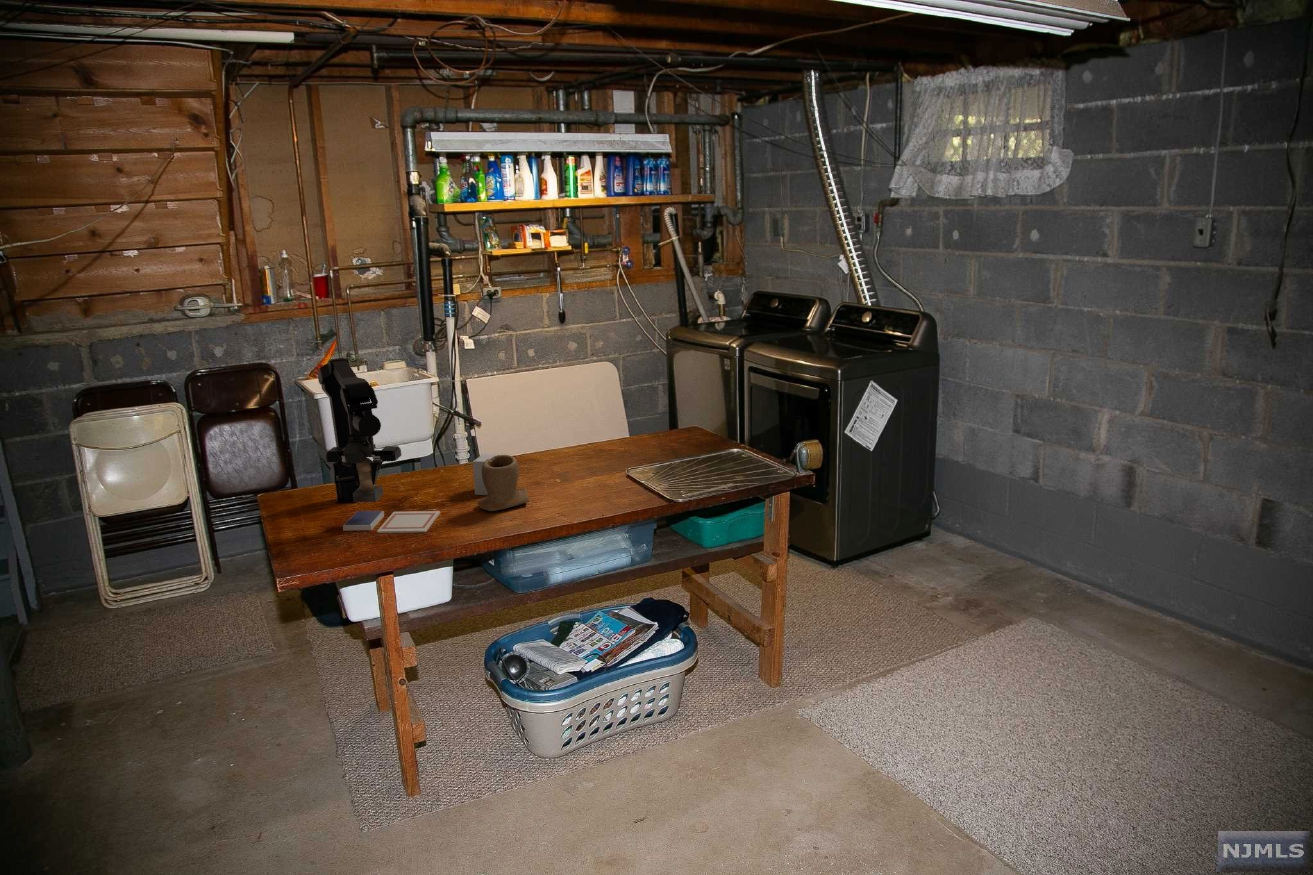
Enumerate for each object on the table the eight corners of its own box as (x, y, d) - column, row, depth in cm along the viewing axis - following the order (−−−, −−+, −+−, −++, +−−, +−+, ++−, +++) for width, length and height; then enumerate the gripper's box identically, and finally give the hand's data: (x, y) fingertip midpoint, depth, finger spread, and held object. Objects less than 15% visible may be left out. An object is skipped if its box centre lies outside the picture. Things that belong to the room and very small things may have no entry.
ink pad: (343, 530, 243) (342, 524, 243) (357, 516, 254) (356, 510, 253) (371, 530, 243) (370, 524, 242) (384, 515, 253) (383, 510, 253)
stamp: (353, 502, 243) (348, 461, 240) (361, 494, 249) (356, 454, 246) (375, 501, 243) (371, 460, 240) (383, 494, 249) (378, 454, 246)
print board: (377, 532, 241) (376, 530, 241) (394, 513, 255) (393, 511, 255) (425, 532, 241) (425, 530, 240) (440, 512, 255) (439, 510, 255)
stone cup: (490, 518, 250) (486, 466, 246) (473, 506, 260) (469, 456, 256) (539, 506, 258) (536, 456, 254) (522, 495, 268) (518, 447, 264)
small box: (492, 495, 268) (489, 461, 265) (474, 495, 269) (471, 461, 267) (502, 487, 276) (499, 454, 273) (484, 486, 277) (482, 453, 274)
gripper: (314, 437, 234) (321, 494, 238) (385, 436, 233) (391, 493, 237) (330, 426, 244) (337, 481, 248) (399, 425, 244) (404, 480, 248)
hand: (367, 484), depth 245 cm, fingers closed on stamp, 4 cm apart
